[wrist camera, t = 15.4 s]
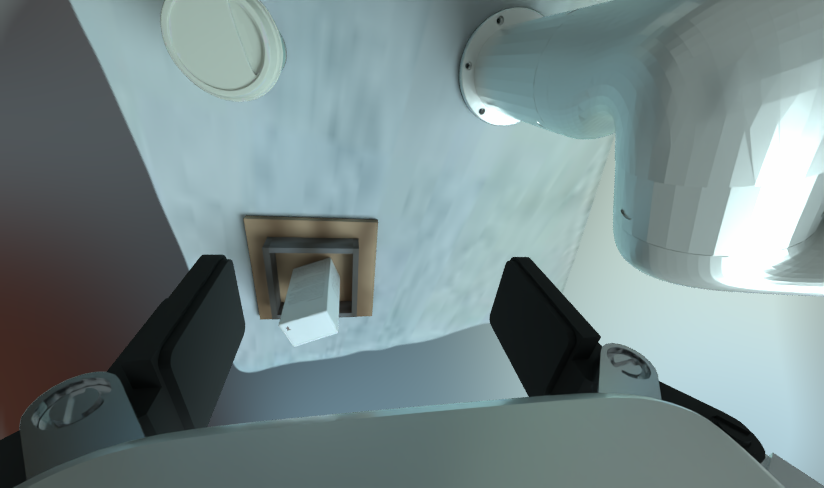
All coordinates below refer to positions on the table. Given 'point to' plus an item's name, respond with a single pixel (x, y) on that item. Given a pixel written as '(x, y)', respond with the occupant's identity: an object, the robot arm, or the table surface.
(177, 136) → the table surface
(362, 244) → the wooden framed tray
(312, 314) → the skincare box
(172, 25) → the coffee cup
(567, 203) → the table surface
